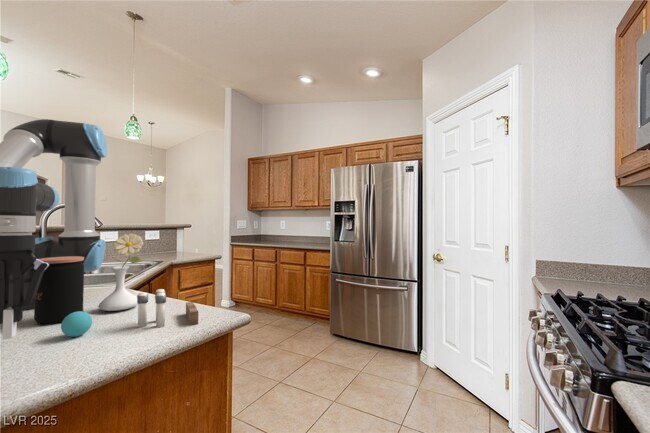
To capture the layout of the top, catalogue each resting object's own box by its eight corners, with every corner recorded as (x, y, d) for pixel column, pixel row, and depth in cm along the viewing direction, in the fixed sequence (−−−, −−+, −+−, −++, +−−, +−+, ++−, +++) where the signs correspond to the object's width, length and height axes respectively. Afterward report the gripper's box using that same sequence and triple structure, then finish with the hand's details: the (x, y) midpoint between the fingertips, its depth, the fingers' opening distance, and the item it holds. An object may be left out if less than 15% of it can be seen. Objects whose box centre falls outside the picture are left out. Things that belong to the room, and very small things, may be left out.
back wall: (185, 313, 92) (185, 302, 92) (192, 313, 93) (192, 301, 93) (190, 325, 82) (190, 312, 82) (198, 324, 83) (198, 311, 83)
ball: (63, 334, 75) (64, 310, 75) (93, 330, 78) (94, 307, 78) (57, 342, 70) (58, 317, 70) (89, 337, 73) (90, 313, 73)
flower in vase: (88, 314, 92) (90, 234, 93) (114, 304, 103) (115, 232, 104) (131, 313, 92) (132, 234, 93) (151, 304, 104) (153, 232, 104)
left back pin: (154, 320, 86) (155, 289, 86) (164, 319, 87) (165, 288, 88) (154, 323, 84) (155, 291, 84) (165, 321, 85) (165, 290, 85)
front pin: (136, 325, 82) (137, 292, 82) (147, 323, 83) (148, 291, 83) (136, 328, 79) (137, 294, 80) (147, 326, 81) (148, 293, 81)
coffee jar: (44, 316, 89) (46, 257, 90) (88, 312, 94) (89, 255, 94) (25, 327, 80) (27, 261, 80) (75, 322, 84) (76, 259, 84)
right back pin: (154, 325, 82) (155, 292, 82) (165, 323, 83) (166, 291, 83) (155, 328, 79) (155, 294, 80) (165, 326, 81) (166, 293, 81)
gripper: (-38, 235, 62) (-42, 348, 61) (45, 234, 69) (42, 336, 68) (-21, 234, 68) (-24, 337, 68) (54, 233, 75) (51, 327, 74)
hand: (9, 336), depth 68 cm, fingers closed
